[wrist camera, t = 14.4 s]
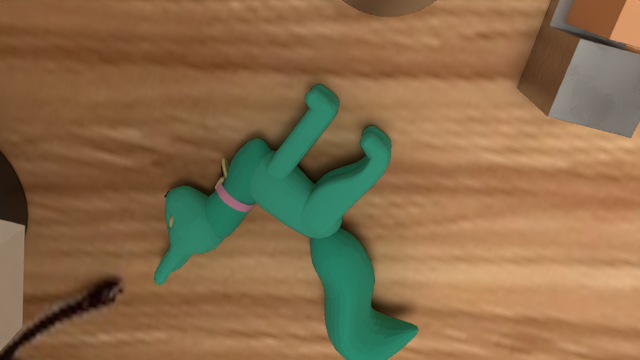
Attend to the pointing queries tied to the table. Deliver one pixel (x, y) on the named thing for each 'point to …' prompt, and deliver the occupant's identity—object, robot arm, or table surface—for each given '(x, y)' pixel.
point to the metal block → (582, 76)
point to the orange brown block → (608, 19)
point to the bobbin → (389, 6)
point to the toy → (299, 223)
